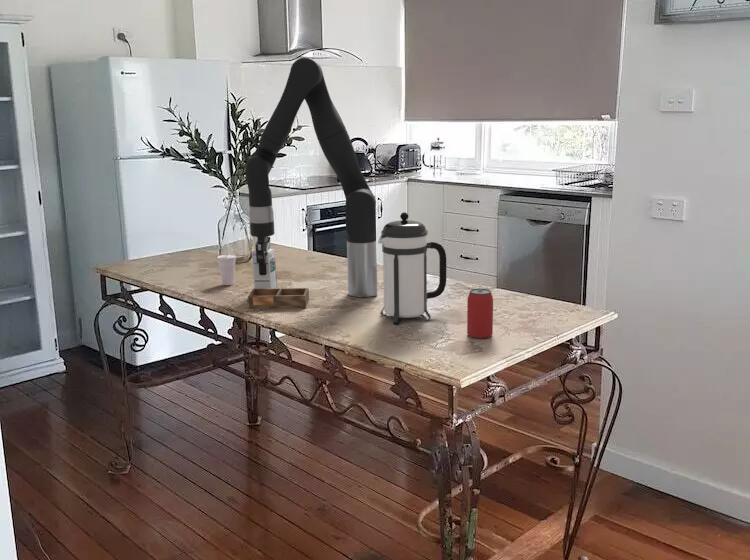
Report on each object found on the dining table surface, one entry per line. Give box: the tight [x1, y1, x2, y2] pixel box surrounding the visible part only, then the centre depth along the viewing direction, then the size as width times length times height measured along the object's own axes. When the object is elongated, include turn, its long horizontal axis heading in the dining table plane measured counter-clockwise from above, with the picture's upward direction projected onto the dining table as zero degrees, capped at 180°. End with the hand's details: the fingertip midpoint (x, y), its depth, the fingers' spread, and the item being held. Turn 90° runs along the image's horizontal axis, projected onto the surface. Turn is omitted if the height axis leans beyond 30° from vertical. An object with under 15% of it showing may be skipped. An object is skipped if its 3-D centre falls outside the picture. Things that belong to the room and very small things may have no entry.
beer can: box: [466, 287, 494, 340], centre depth 196 cm, size 7×7×12 cm
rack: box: [247, 287, 310, 310], centre depth 231 cm, size 17×10×4 cm, turn 89°
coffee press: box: [377, 211, 447, 325], centre depth 212 cm, size 17×16×30 cm
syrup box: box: [251, 247, 278, 289], centre depth 240 cm, size 6×6×14 cm
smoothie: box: [216, 243, 237, 286], centre depth 255 cm, size 6×6×14 cm
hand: (264, 272), depth 240 cm, fingers closed on syrup box, 6 cm apart
